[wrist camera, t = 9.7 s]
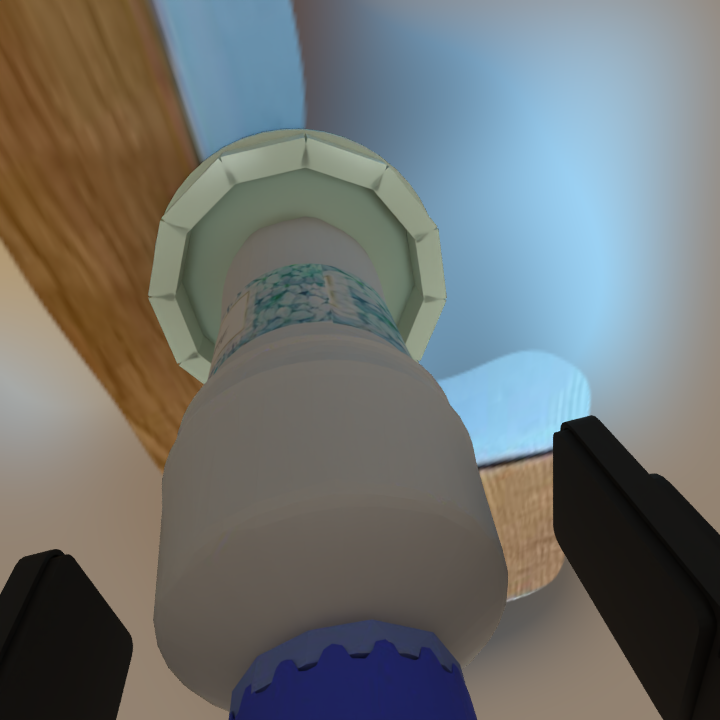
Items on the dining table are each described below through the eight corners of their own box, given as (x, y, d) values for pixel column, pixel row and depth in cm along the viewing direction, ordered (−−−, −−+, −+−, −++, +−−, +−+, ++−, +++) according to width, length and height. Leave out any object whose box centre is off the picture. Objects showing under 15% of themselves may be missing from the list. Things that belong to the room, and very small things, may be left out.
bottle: (227, 190, 21) (-36, 789, 3) (388, 213, 22) (793, 726, 5) (220, 339, 24) (65, 1050, 6) (362, 351, 25) (547, 966, 8)
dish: (106, 168, 20) (86, 178, 18) (415, 96, 21) (431, 98, 18) (213, 419, 26) (208, 448, 24) (449, 361, 27) (463, 385, 25)
